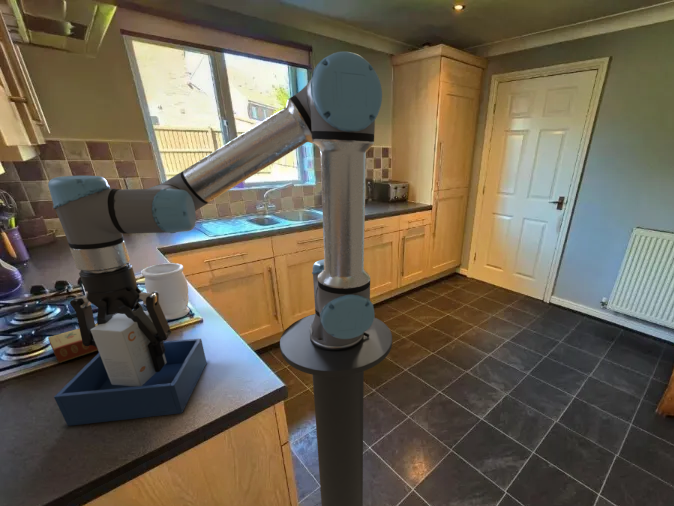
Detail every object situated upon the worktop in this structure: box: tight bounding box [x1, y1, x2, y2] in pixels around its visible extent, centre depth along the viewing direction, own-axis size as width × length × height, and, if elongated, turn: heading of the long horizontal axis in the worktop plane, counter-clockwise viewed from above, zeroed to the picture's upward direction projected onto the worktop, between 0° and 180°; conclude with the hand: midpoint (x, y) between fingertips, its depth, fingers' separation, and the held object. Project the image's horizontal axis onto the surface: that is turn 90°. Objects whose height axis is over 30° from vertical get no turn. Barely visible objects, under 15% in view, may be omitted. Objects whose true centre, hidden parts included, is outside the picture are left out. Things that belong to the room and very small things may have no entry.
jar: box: [140, 262, 190, 321], centre depth 98 cm, size 11×10×15 cm
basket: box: [53, 338, 207, 427], centre depth 69 cm, size 20×17×7 cm
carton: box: [47, 322, 98, 364], centre depth 85 cm, size 8×16×4 cm, turn 140°
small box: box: [91, 309, 167, 386], centre depth 66 cm, size 8×6×13 cm
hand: (139, 369), depth 68 cm, fingers closed on small box, 7 cm apart
